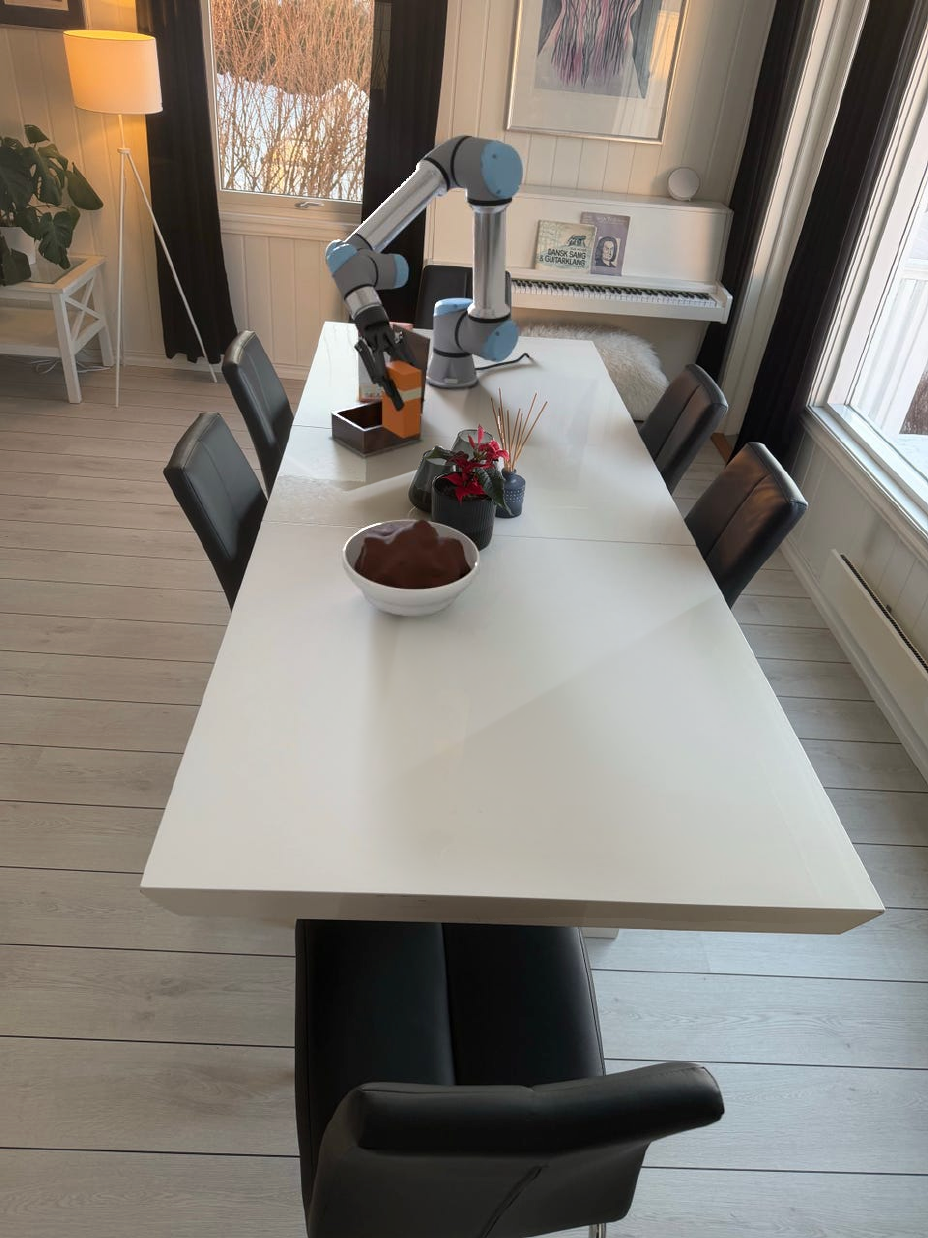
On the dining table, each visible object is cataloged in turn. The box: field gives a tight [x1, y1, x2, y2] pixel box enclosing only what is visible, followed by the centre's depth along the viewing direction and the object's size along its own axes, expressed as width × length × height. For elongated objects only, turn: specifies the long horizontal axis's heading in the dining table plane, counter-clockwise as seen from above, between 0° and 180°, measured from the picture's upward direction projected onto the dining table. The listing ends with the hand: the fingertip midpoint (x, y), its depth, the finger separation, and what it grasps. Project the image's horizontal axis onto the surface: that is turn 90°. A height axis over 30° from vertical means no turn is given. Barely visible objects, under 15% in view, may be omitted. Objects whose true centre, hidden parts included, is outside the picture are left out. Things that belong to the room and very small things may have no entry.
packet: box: [382, 360, 421, 438], centre depth 195 cm, size 5×8×15 cm, turn 42°
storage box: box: [330, 400, 422, 456], centre depth 213 cm, size 18×14×7 cm
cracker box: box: [357, 321, 414, 403], centre depth 230 cm, size 14×6×21 cm, turn 84°
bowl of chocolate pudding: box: [341, 518, 481, 617], centre depth 154 cm, size 25×25×15 cm
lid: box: [390, 322, 431, 415], centre depth 211 cm, size 18×14×1 cm
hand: (410, 405), depth 193 cm, fingers closed on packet, 5 cm apart
